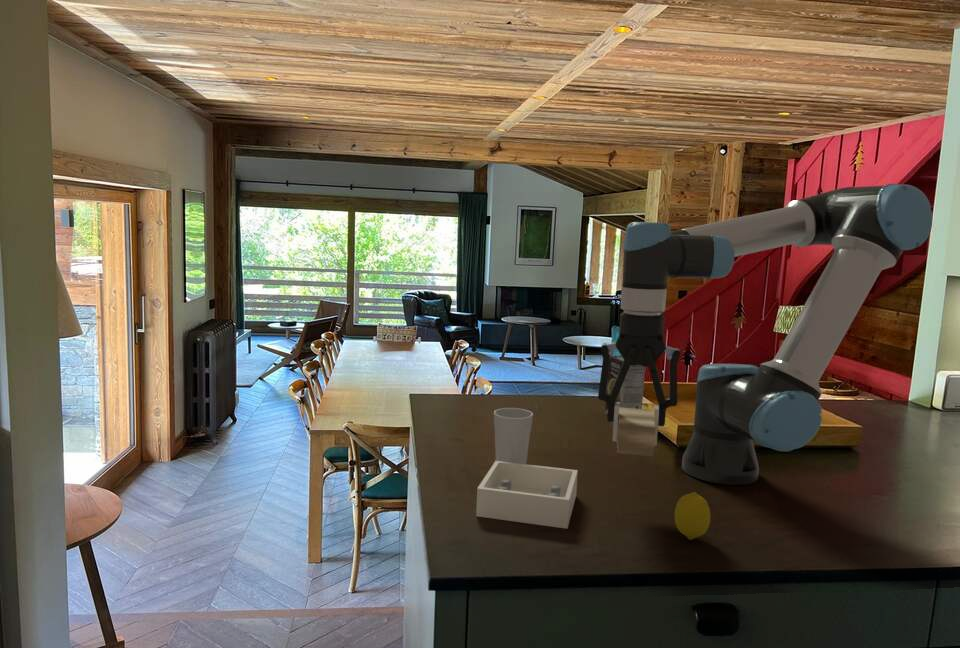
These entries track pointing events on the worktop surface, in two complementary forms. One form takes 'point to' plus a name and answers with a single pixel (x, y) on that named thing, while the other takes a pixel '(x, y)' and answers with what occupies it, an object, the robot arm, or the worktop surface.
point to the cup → (512, 434)
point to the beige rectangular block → (636, 431)
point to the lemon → (692, 515)
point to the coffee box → (626, 384)
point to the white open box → (527, 494)
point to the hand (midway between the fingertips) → (634, 441)
